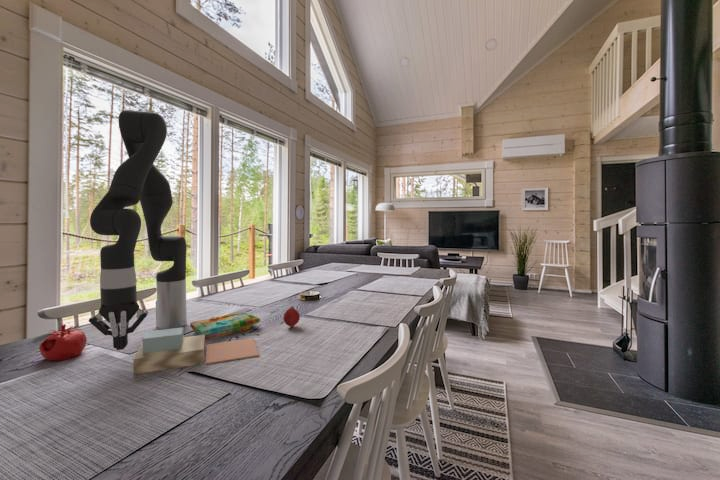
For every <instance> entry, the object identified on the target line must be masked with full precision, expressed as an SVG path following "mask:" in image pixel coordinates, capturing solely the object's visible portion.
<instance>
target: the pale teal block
mask: <svg viewBox="0 0 720 480" xmlns="http://www.w3.org/2000/svg"><path fill="white" fill-rule="evenodd" d="M184 334H185V332H184V326H183V327H180V328H173V329H164V330H161V329H156V330H148V331H146V332H145V334H144V336H143V337H142V340H141V341H142V343H143V354H144V353H151V352H159V351H166V350H173V349H181V348H182V345H183V341H184V337H185V336H184Z"/></svg>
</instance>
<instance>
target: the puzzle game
mask: <svg viewBox="0 0 720 480" xmlns="http://www.w3.org/2000/svg"><path fill="white" fill-rule="evenodd" d="M260 322H261V319H260V317H258V316H255V315H253V314H252V313H249V312H247V311H242V312H237V313H236V312H235V313H232V314H231V313H230V314H226V315H221V316H216V317H215V316H211V318H207V319H201V320H196V321H192V322H190V323H189V327H190V328H191V329H192V332H194V334H196V336H197V335H205V341H209V340H212V339H216V338H220V337H225V336H228V335H233V334H236V333H240V332H243V331H248V330H250V328H251V326H253V325H255V324H258V323H260Z"/></svg>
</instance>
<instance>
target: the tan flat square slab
mask: <svg viewBox="0 0 720 480" xmlns="http://www.w3.org/2000/svg"><path fill="white" fill-rule="evenodd" d="M205 351H206V352H205V353H206V354H205V365H206V366H207V365H212V364H218V363H224V362H230V361H237V360H244V359H250V358H257V357H259V355H260V354H259V351H258V348H257V344H256V342H255V338H253V337H252V338H244V339H238V340H237V339H236V340H230V341H224V342H223V341H221V342H215V343H208V344H206V349H205Z"/></svg>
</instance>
